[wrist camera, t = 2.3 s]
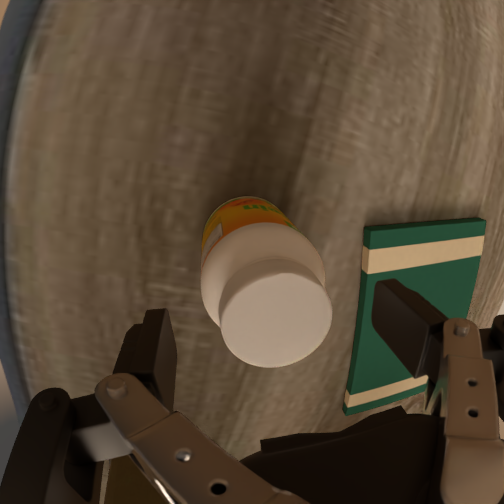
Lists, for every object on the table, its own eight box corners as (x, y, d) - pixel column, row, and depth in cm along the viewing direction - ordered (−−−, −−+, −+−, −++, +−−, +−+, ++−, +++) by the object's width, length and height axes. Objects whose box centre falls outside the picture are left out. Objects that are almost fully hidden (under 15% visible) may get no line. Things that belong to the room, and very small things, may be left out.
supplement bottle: (303, 216, 20) (378, 284, 11) (265, 288, 21) (304, 392, 12) (224, 180, 18) (241, 223, 9) (188, 259, 20) (178, 359, 11)
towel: (363, 226, 21) (370, 231, 20) (478, 217, 22) (487, 220, 21) (341, 409, 27) (345, 416, 26) (439, 378, 28) (444, 383, 27)
